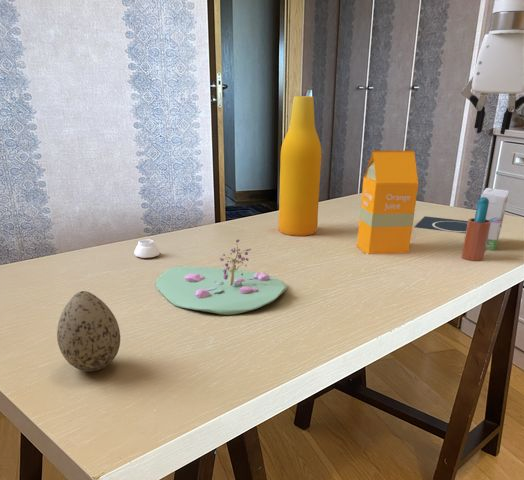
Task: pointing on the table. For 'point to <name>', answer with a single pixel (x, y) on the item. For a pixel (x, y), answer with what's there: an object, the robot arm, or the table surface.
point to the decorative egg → (88, 333)
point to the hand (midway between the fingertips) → (490, 132)
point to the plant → (219, 287)
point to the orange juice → (388, 202)
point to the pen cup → (475, 240)
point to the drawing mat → (443, 224)
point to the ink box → (495, 214)
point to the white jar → (146, 249)
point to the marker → (481, 210)
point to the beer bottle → (300, 172)
